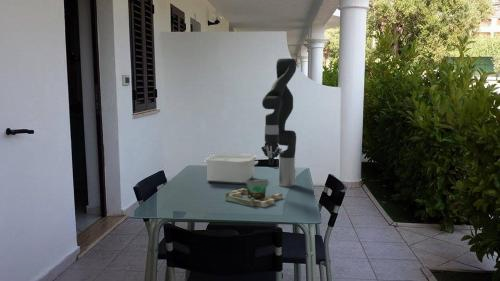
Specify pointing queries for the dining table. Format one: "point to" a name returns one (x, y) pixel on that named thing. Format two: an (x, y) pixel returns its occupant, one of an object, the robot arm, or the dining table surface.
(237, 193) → the trap lane
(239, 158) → the pot
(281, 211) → the dining table surface
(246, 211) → the dining table surface
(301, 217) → the dining table surface
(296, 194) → the dining table surface
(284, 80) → the robot arm
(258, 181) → the food container
